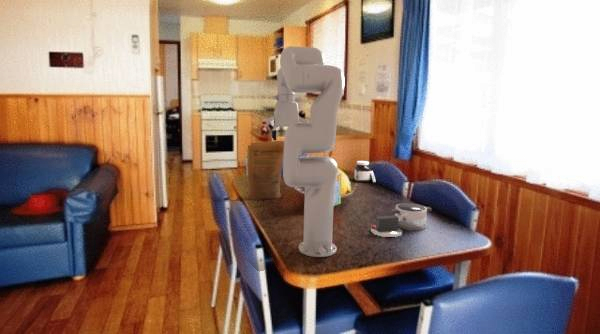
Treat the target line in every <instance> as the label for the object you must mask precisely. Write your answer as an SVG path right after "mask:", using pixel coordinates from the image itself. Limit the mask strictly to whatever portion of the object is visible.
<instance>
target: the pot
mask: <svg viewBox="0 0 600 334" xmlns="http://www.w3.org/2000/svg"><path fill="white" fill-rule="evenodd" d="M432 210H433V208H432V207H430V206H424V205H422V204H418V203H411V202H409V203H408V202H406V203H405V202H404V203H398V204H397V203H396V205H395V208H391V209H389V212H390V213H391V214H392V215H395V216H397V217H399V220H398V227H399V228H400V229H401V228H402V229H401V230H405V229H406V231H413V230H416V231H422V230H421V229H423V230H425V229H426V225H427V212H432ZM424 228H425V229H424Z"/></svg>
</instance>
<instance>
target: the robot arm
mask: <svg viewBox="0 0 600 334" xmlns="http://www.w3.org/2000/svg"><path fill="white" fill-rule="evenodd" d="M325 61H326V60H325V54H324V53H323V52H322V51H321V50H320V49H319V48H316V47H311V46H292V45H291V46H290V45H289V46H287V47H285V48H284V49H283V50H282V51H281V53H280V57H279V64H280V65H279V66H280V68H278V70H277V74H276V79H277V88H276V89H277V93H276V95H274V96H273V100H276V102H275V104H274V109H273V110H274V111H273V116H271V117H268V118H267V119H265V123H266V125H267V127H268V128H269V129H270V130H271V138H272V140H273V141H277V131H276V130H277V129H278V127H281V128H282V127H287V128H286V130H285V133H284V140H283V142H284V154H283V164H282V176H283V182H284V183H285V185H286V186H287V187H291V188H299V187H300V188H301V187H304V188H305V186H311V188H310V189H309V191H308V192H307V194H306V196H305V195H304V200H303V202H304V204H303V205H304V206H303V207H304V208H303V241H302V242H300V244H298V250H299V252H300V253H301V254H303V255H305V256H309V257H312V258H325V257H326V258H327V257H330V256H333V255H334V254H336V252H337V249H338V248H337V246H336V245H335V244H334V242H333V228H334V227H333V225H334V207H335V206H334V190H335V184H336V179H337V174H338V171H339V165H338V162H337V161H336V160H335V159H334V158H332V157H330V156H325V155H310V156H302V155H303V154H324V153H329V152H332V151H333V150H334V147H335V145H336V139H337V126H338V125H337V124H338V112H339V107H340V103H341V101H342V99H343V95H344V91H345V87H346V86H345V81H346V80H345V75H344V72H343V70H342V69H341V68H339V67H337V66H334V65H328V64H327V65H326V64H325ZM296 93H306V94H307V93H308V94H309V93H312V94H313V93H320V94H319V95H318V96H317V97H316V98H315V99H314V100H313V102H312V103H311V105H310V108H309V118H308V119H309V120H308V121H307V120H306V119H305V118H303V117H301V116H300V115H299V112H300V111H299V104H298V102H296V95H297V94H296ZM272 121H273V125H272V124H271V122H272Z"/></svg>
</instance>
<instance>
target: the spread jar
mask: <svg viewBox="0 0 600 334" xmlns="http://www.w3.org/2000/svg"><path fill="white" fill-rule="evenodd" d="M369 164H370V161H367V160H357V161H356V165H355V166H354V181H356V182H357V183H361V182H363V183H368V182H370V180H371V179H372V183H376V182H377V181H376V177H375V173H374V170H371V167H370V165H369Z"/></svg>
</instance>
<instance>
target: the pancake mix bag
mask: <svg viewBox="0 0 600 334" xmlns="http://www.w3.org/2000/svg"><path fill="white" fill-rule="evenodd" d="M246 151H247V152H246V153H247V154H246V169H247V170H246V175H247V186H248V187H247V188H248V199H247V200H251V201H263V200H272V199H273V200H274V199H275V200H277V199H279V198H281V192H280V191H281V189H280V186H281V181H282V179H281V177H282V170H283V161H284V140H273V141H264V142H263V141H262V142H251V143H249V145H247V150H246Z"/></svg>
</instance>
